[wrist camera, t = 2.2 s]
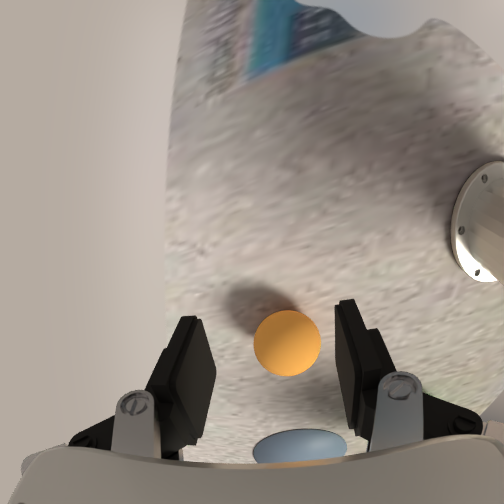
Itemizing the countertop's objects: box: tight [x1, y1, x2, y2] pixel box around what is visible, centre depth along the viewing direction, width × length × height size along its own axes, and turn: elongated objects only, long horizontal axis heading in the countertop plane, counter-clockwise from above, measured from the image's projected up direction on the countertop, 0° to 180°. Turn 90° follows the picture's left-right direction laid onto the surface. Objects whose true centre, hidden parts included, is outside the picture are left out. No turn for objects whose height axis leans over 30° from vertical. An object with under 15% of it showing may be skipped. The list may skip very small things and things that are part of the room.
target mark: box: [254, 429, 347, 463], centre depth 38 cm, size 14×14×1 cm
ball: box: [254, 310, 321, 376], centre depth 27 cm, size 6×6×6 cm
